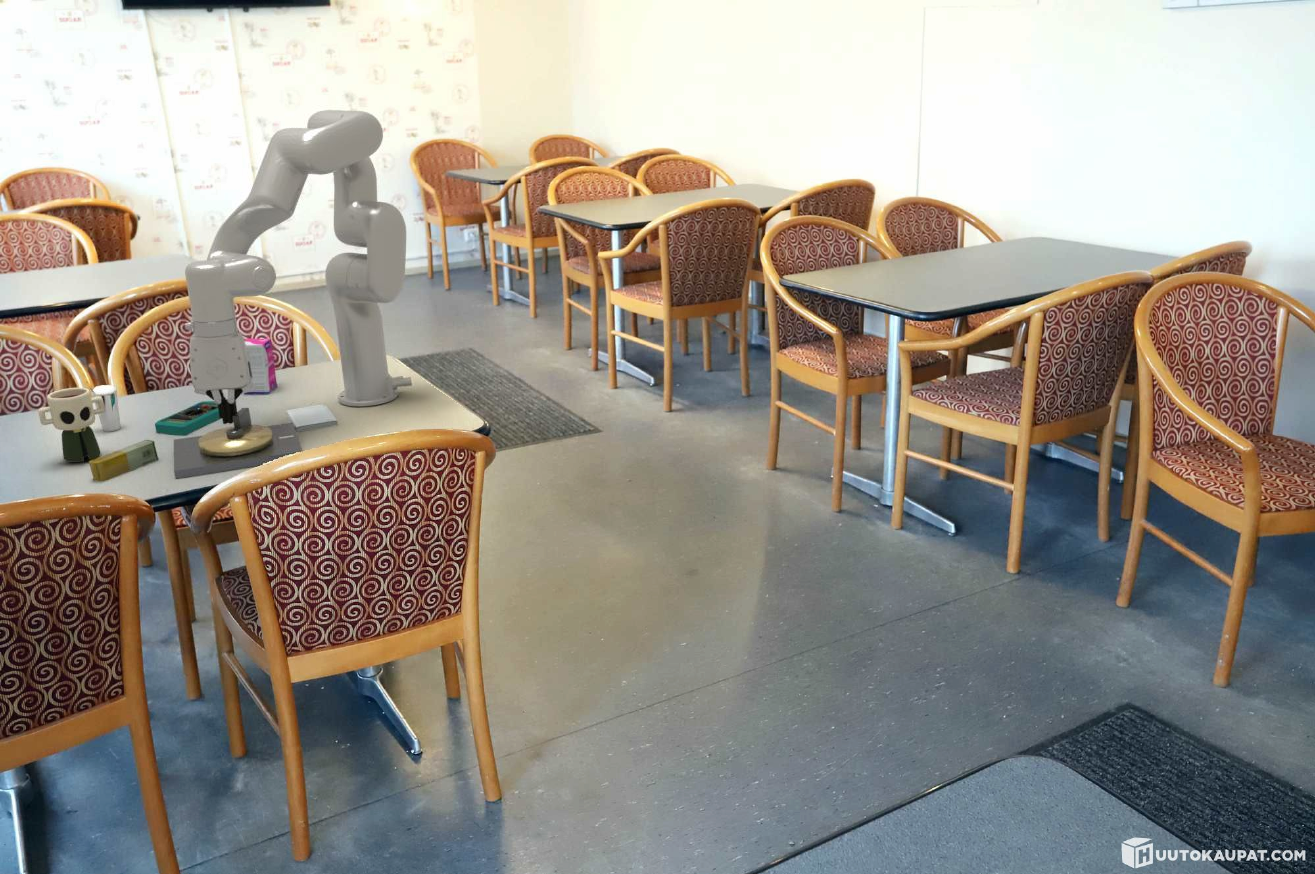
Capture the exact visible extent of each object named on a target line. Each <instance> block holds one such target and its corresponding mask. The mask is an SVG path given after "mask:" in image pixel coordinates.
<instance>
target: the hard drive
mask: <svg viewBox="0 0 1315 874" xmlns="http://www.w3.org/2000/svg"><path fill="white" fill-rule="evenodd" d="M285 414H286V417H287V418H288V421H289V423H293V425H294V428H295V431H296V433H298V432H305V431H309V430H310V431H311V430H316V429H321V428H322V429H323V428H327V427H333V426H339V422H338V420H337V419H336V417H335V416H334V414H333V413H332V412H331V410H330V409H329V408H328V407H327V405H326V404H318V405H317V404H315V405H309V406H304V407H298V408H293V409H287V410H285Z"/></svg>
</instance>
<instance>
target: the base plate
mask: <svg viewBox="0 0 1315 874" xmlns="http://www.w3.org/2000/svg"><path fill="white" fill-rule="evenodd" d="M264 426H265V425H264ZM265 427H268V428H269V429H271V431H272V437H273V441H272V442H271V444H269V445H268V446H266V447H264V448H262V449H260V450H257V451H254V452H250V453H246V454H241V455H234V456H211V455H206V454H204V453H202V452H201V451H200V448H199V442H198V441H199V439H200V438H201V437H202V436H203V435H204V434H203V435H196V436H195V435H194V436H189V437H183V438H175V439H173V472H174V478H175V480H176V479H177V480H178V479H183V478H189V477H197V476H202V475H208V474H215V473H220V472H227V471H228V472H229V471H233V470H241V469H246V468H253V467H259V466H258V465H260V466H263V465H262V464H263V463H267V462H269V461H273V460H274V459H278V458H279V457H283V456H285V455H289V454H294V453H296V452H301V451H303V449H302V445H301V443H300V440H299V437H298V432H296V430H295V428H294V425H293V423H291V422H286V423H279V424H273V425H266V426H265Z"/></svg>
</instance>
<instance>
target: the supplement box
mask: <svg viewBox="0 0 1315 874" xmlns="http://www.w3.org/2000/svg"><path fill="white" fill-rule="evenodd" d="M244 341H245V344H246V347H247V351H248V355H249V359H250V364H251V369H252V382H253V384H254V387H255V388H254V389H253V391H250V392H247V393H243V395H247V396H248V395H269V394H270V393H271V392H272V391H273V390H275V389H276V388H277V387H278V384H277V378H276V377H277V376H276V368H275V360H274V352H273V345H272V343H273V342H272V339H271V338H246V339H244Z"/></svg>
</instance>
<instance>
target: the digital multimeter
mask: <svg viewBox="0 0 1315 874" xmlns="http://www.w3.org/2000/svg"><path fill="white" fill-rule="evenodd" d="M217 420H220V417H219V410H218V404H216V403H215V401H214V400H204V401H203V400H202V401H200V402H197V403H195V404H193V405H191V406H189V407H187V408H185V409H183V410H180V411H178V412H176V413H173V414H171V415H168V416H166V417H164V418H161V419H159V420H157V421H156V422H155V423H154V427H155V431H156V433H159V434H165V435H172V436H187V435H189V434H191V433H193V432H195V431H197V430H199V429H201V428H202V427H205V426H207V425H209V424H211V423H213V422H215V421H217Z"/></svg>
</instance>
